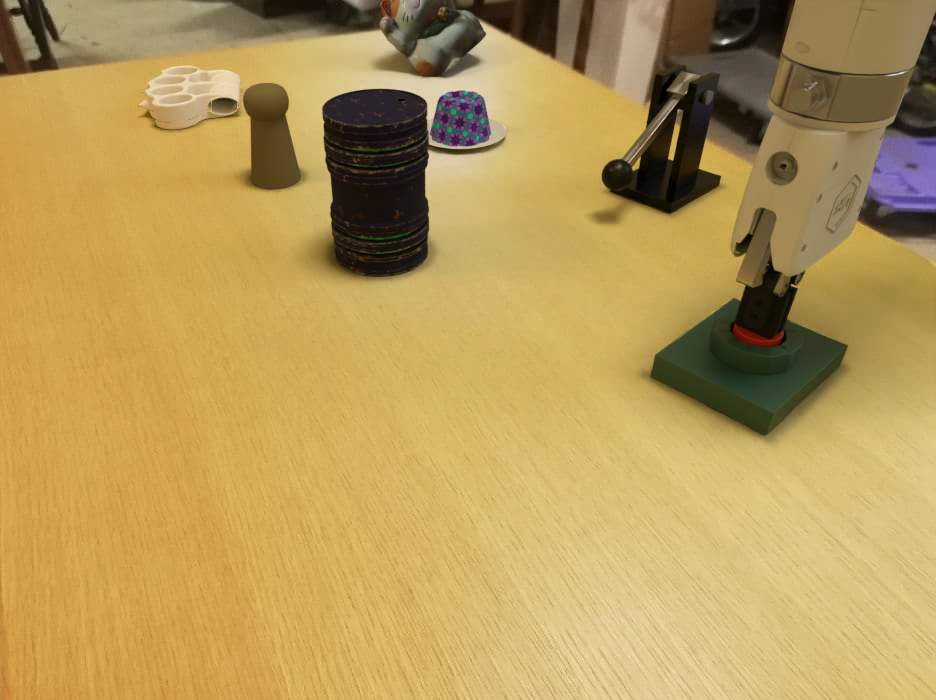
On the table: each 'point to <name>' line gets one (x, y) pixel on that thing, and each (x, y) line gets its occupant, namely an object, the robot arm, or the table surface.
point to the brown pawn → (270, 137)
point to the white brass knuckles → (191, 95)
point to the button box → (747, 368)
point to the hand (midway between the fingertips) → (758, 328)
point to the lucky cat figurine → (430, 32)
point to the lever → (647, 135)
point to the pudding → (463, 122)
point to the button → (756, 337)
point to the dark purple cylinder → (378, 179)
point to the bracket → (681, 176)
